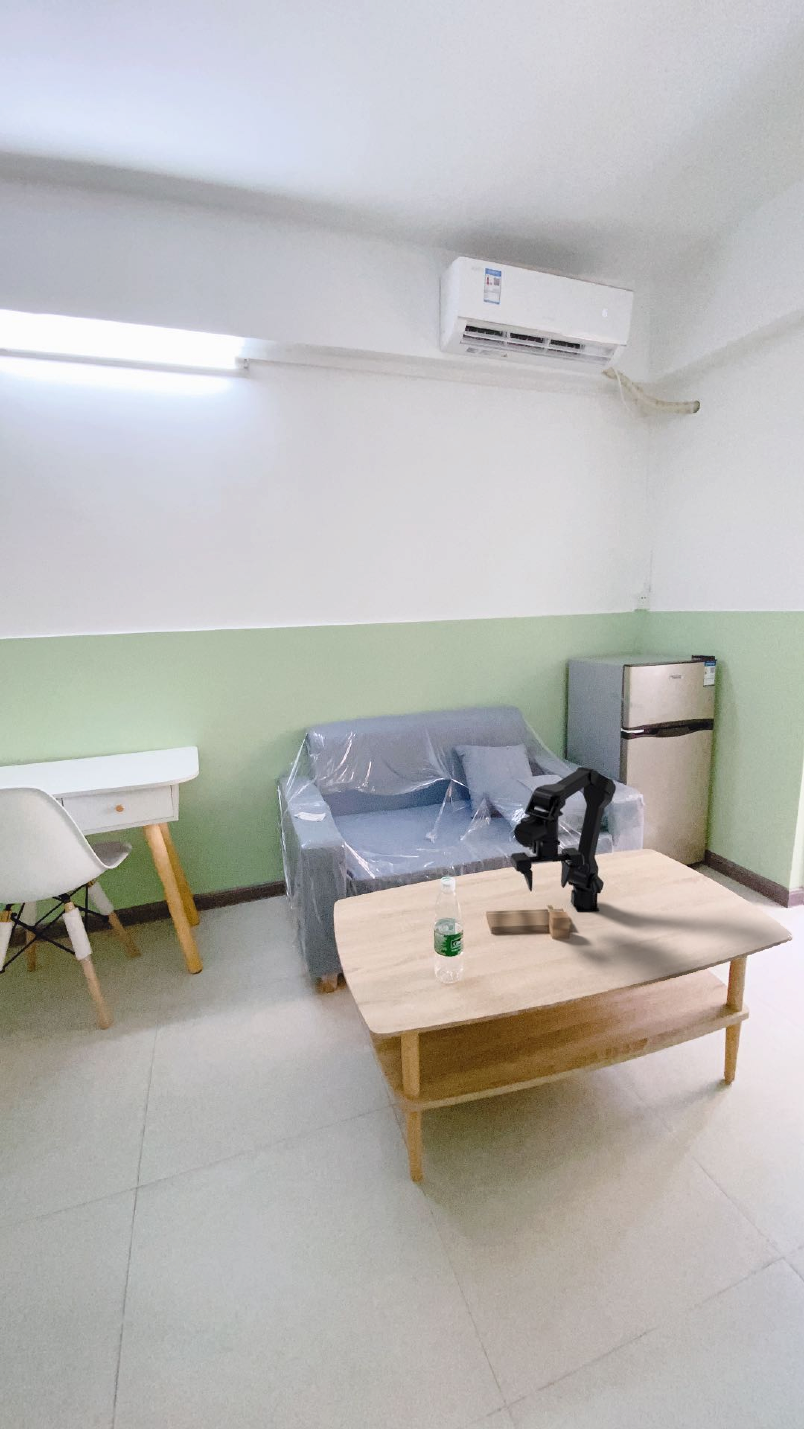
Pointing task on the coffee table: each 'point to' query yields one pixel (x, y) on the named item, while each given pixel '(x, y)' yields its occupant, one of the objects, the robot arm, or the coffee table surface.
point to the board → (520, 921)
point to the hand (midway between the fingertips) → (546, 888)
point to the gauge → (558, 924)
